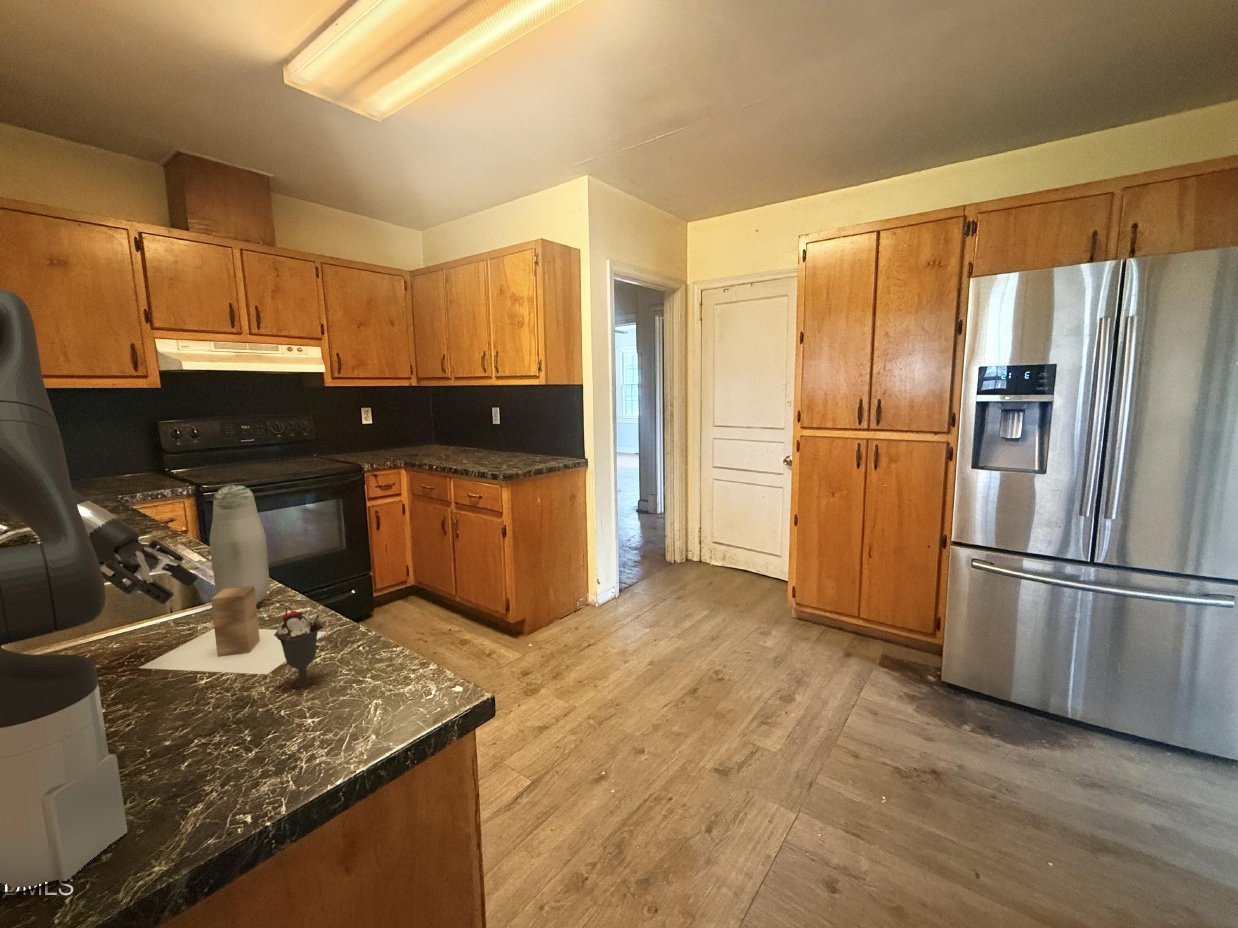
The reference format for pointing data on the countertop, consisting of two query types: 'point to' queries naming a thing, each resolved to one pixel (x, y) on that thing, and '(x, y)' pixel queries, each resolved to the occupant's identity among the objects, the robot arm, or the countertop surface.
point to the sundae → (299, 642)
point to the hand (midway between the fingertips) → (182, 590)
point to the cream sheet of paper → (204, 656)
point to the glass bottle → (238, 542)
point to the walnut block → (235, 621)
